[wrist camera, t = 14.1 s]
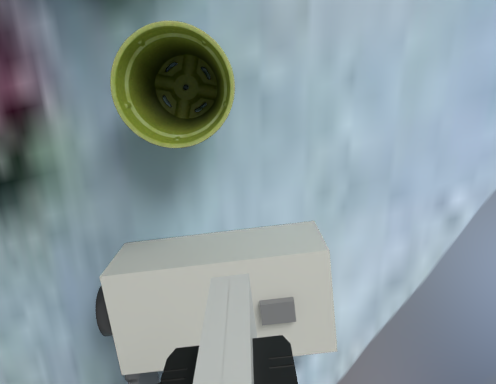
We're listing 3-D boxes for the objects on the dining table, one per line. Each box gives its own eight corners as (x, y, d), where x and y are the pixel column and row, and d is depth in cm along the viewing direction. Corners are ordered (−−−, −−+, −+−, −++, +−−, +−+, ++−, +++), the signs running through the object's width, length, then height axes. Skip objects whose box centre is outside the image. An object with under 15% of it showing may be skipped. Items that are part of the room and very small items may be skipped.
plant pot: (194, 13, 38) (181, -8, 30) (255, 96, 40) (258, 99, 32) (118, 76, 40) (84, 73, 31) (180, 154, 42) (164, 171, 33)
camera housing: (128, 328, 46) (102, 383, 38) (110, 244, 44) (77, 282, 35) (321, 306, 46) (339, 356, 37) (314, 220, 43) (331, 253, 35)
